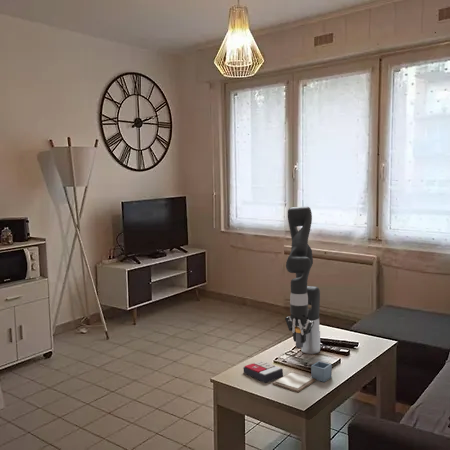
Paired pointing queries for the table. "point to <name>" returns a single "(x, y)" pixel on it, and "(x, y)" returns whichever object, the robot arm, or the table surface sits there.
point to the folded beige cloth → (294, 381)
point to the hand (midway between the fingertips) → (299, 341)
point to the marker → (298, 337)
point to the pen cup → (321, 371)
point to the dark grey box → (263, 371)
